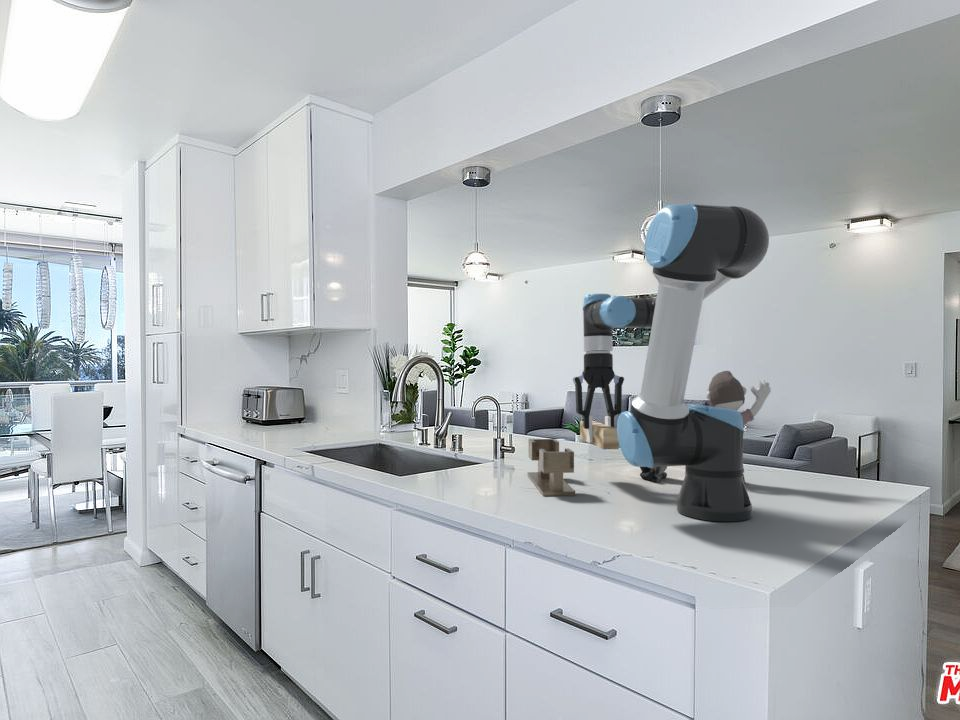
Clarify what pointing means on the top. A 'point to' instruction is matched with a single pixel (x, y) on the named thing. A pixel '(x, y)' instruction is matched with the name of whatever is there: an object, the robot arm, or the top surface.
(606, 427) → the rail
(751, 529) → the top surface
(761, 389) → the figurine
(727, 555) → the top surface
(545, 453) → the bracket
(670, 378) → the robot arm
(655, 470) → the figurine
